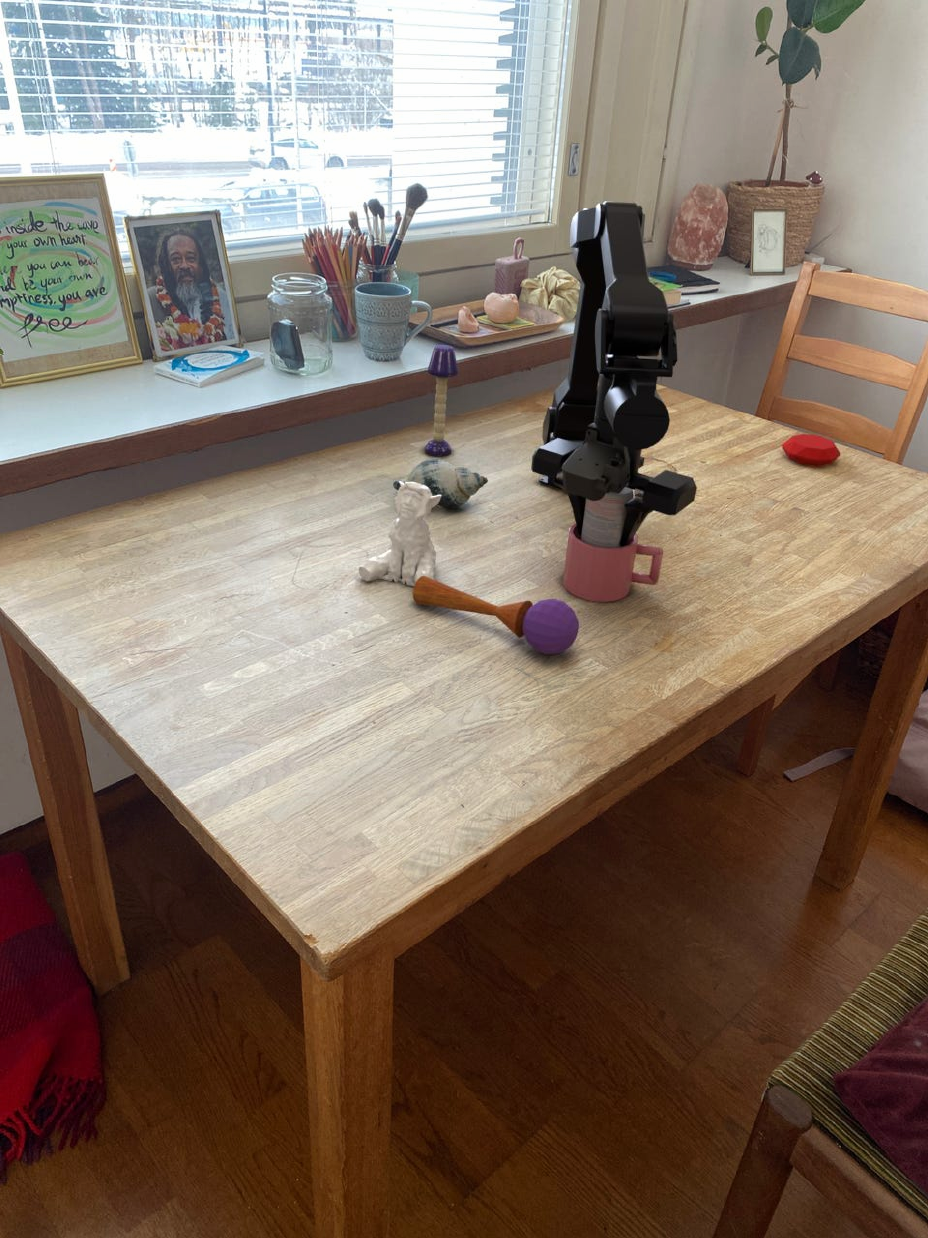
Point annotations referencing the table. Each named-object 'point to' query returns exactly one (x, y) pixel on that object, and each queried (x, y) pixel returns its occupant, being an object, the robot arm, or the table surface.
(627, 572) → the mug
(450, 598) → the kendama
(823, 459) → the gemstone
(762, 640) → the table surface
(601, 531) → the energy drink
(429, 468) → the seashell
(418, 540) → the seated beast figurine
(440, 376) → the toy lamp
